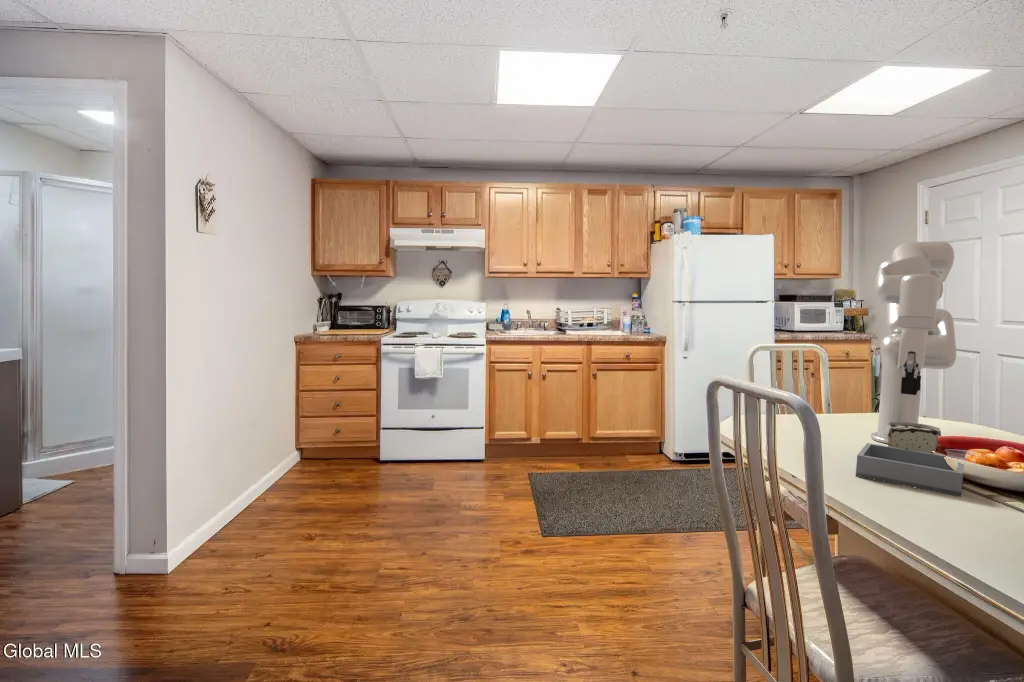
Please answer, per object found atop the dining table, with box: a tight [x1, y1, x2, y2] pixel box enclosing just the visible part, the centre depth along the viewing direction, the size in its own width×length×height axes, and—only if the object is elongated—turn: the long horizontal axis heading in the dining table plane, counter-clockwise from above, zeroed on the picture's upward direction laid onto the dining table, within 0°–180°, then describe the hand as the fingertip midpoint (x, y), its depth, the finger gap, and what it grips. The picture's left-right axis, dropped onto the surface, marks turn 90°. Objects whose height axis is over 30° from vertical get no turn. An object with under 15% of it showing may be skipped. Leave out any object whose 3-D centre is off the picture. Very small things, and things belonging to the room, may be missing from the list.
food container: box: [885, 422, 942, 454], centre depth 139 cm, size 12×6×10 cm, turn 84°
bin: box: [855, 442, 965, 498], centre depth 127 cm, size 15×19×5 cm
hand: (910, 392), depth 138 cm, fingers open, 9 cm apart
